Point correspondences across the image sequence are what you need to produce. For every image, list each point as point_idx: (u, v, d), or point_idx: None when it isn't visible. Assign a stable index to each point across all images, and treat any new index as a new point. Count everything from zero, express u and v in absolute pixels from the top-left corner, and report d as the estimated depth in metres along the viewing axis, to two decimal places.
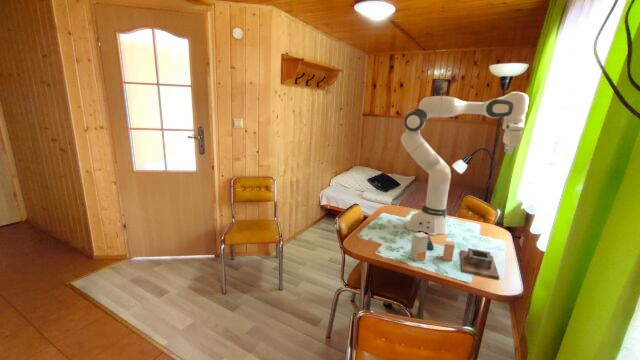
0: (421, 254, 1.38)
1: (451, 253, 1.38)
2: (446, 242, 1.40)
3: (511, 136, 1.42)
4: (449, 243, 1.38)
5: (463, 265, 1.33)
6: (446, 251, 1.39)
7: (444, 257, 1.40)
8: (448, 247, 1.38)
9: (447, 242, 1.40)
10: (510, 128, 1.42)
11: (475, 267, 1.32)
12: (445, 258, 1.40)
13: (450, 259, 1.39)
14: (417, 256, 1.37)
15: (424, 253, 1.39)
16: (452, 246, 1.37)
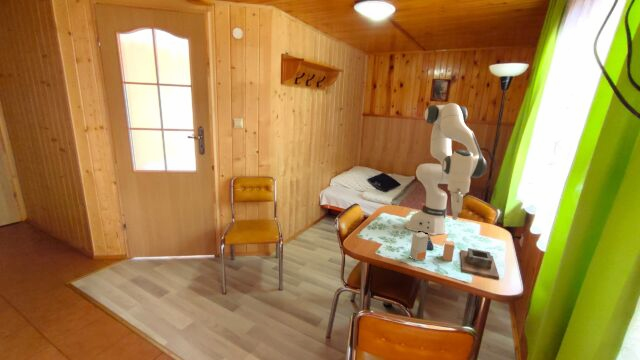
0: (421, 254, 1.38)
1: (451, 253, 1.38)
2: (446, 242, 1.40)
3: None
4: (449, 243, 1.38)
5: (463, 265, 1.33)
6: (446, 251, 1.39)
7: (444, 257, 1.40)
8: (448, 247, 1.38)
9: (447, 242, 1.40)
10: None
11: (475, 267, 1.32)
12: (445, 258, 1.40)
13: (450, 259, 1.39)
14: (417, 256, 1.37)
15: (424, 253, 1.39)
16: (452, 246, 1.37)
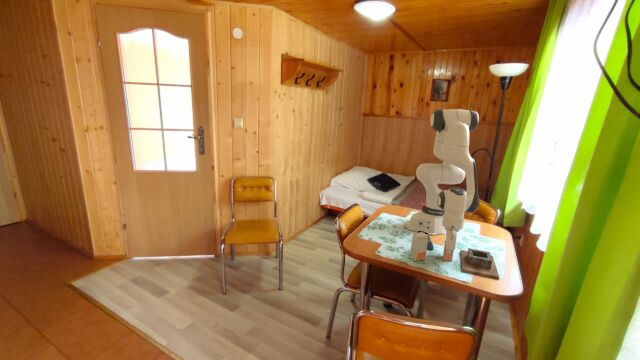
0: (421, 254, 1.38)
1: (451, 253, 1.38)
2: None
3: None
4: None
5: (463, 265, 1.33)
6: (446, 251, 1.39)
7: (444, 257, 1.40)
8: None
9: None
10: None
11: (475, 267, 1.32)
12: (445, 258, 1.40)
13: (450, 259, 1.39)
14: (417, 256, 1.37)
15: (424, 253, 1.39)
16: None
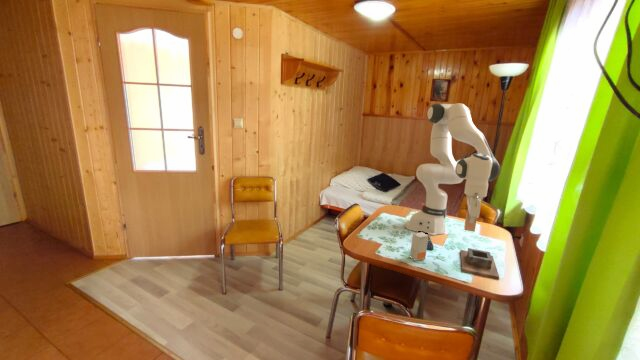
0: (421, 254, 1.38)
1: (474, 223, 1.31)
2: (468, 212, 1.33)
3: None
4: None
5: (463, 265, 1.33)
6: None
7: (466, 227, 1.33)
8: None
9: None
10: None
11: (475, 267, 1.32)
12: (467, 228, 1.33)
13: (472, 229, 1.32)
14: (417, 256, 1.37)
15: (424, 253, 1.39)
16: None
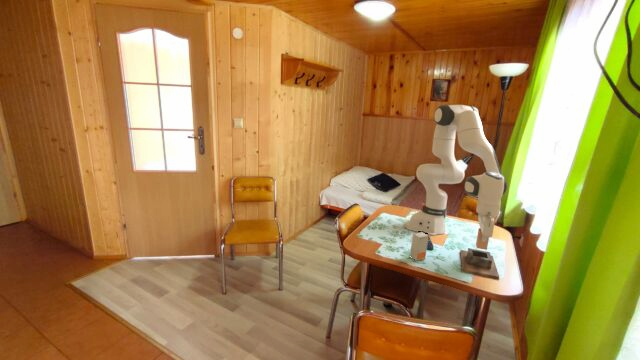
0: (421, 254, 1.38)
1: (486, 241, 1.31)
2: (480, 230, 1.33)
3: None
4: None
5: (463, 265, 1.33)
6: None
7: (478, 246, 1.33)
8: None
9: None
10: None
11: (475, 267, 1.32)
12: (479, 247, 1.33)
13: (485, 248, 1.32)
14: (417, 256, 1.37)
15: (424, 253, 1.39)
16: None
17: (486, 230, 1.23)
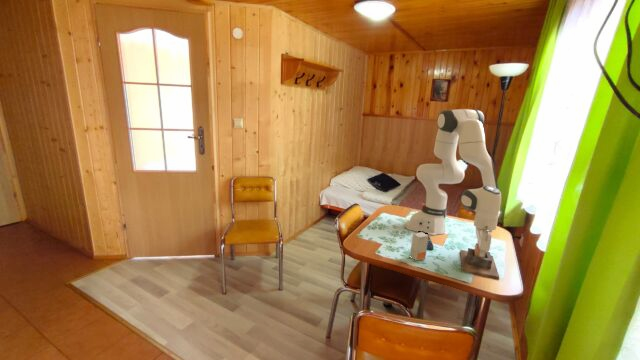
0: (421, 254, 1.38)
1: (483, 257, 1.33)
2: (477, 245, 1.35)
3: None
4: None
5: (463, 265, 1.33)
6: (478, 254, 1.34)
7: None
8: None
9: (478, 245, 1.35)
10: None
11: (475, 267, 1.32)
12: None
13: None
14: (417, 256, 1.37)
15: (424, 253, 1.39)
16: None
17: (483, 244, 1.25)
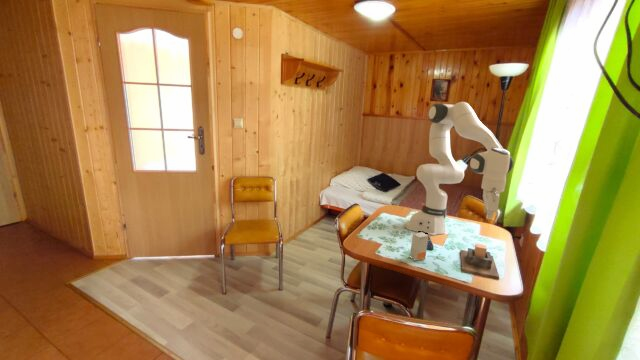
0: (421, 254, 1.38)
1: (483, 257, 1.33)
2: (477, 245, 1.35)
3: None
4: (481, 247, 1.33)
5: (463, 265, 1.33)
6: (478, 254, 1.34)
7: None
8: (480, 250, 1.33)
9: (478, 245, 1.35)
10: None
11: (475, 267, 1.32)
12: None
13: None
14: (417, 256, 1.37)
15: (424, 253, 1.39)
16: (484, 249, 1.32)
17: (491, 205, 1.23)
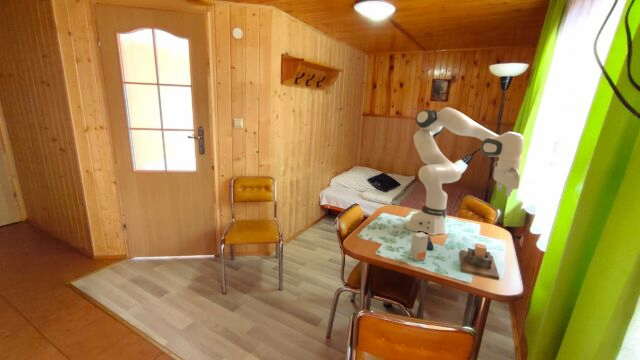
0: (421, 254, 1.38)
1: (483, 257, 1.33)
2: (477, 245, 1.35)
3: None
4: (481, 247, 1.33)
5: (463, 265, 1.33)
6: (478, 254, 1.34)
7: None
8: (480, 250, 1.33)
9: (478, 245, 1.35)
10: None
11: (475, 267, 1.32)
12: None
13: None
14: (417, 256, 1.37)
15: (424, 253, 1.39)
16: (484, 249, 1.32)
17: (513, 183, 1.37)
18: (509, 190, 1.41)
